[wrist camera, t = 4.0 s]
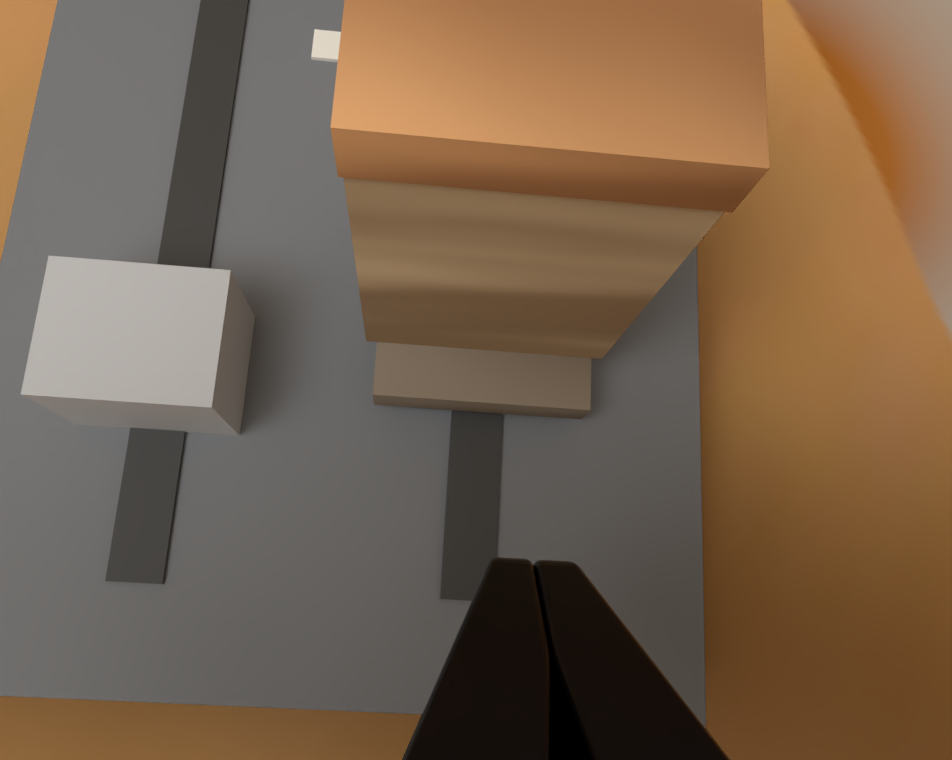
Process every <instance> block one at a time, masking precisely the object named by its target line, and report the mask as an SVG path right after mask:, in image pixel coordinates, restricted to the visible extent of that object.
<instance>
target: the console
mask: <svg viewBox="0 0 952 760" xmlns="http://www.w3.org/2000/svg"><path fill="white" fill-rule="evenodd" d="M343 9H344V0H58V2H57V6H56V11H55V15H54V20H53V25H52V29H51V34H50V38H49V43H48V48H47V52H46V57H45V61H44V66H43V71H42V75H41V80H40V84H39V89H38V93H37V98H36V103H35V107H34V112H33V116H32V121H31V126H30V130H29V135H28V139H27V144H26V149H25V153H24V158H23V162H22V167H21V171H20V176H19V181H18V185H17V190H16V194H15V199H14V204H13V208H12V213H11V217H10V222H9V227H8V231H7V236H6V240H5V245H4V250H3V254H2V259H1V263H0V696H16V697H39V698H62V699H85V700H107V701H130V702H153V703H175V704H198V705H221V706H243V707H266V708H289V709H311V710H334V711H357V712H379V713H402V714H422V713H423V711H424V709H425V707H426V704H427V702H428V700H429V697H430V695H431V693H432V691H433V688H434V686H435V684H436V681H437V679H438V677H439V675H440V672H441V670H442V668H443V665H444V663H445V661H446V659H447V656H448V654H449V652H450V650H451V647H452V645H453V643H454V640H455V638H456V636H457V634H458V631H459V629H460V627H461V624H462V622H463V620H464V618H465V615H466V613H467V611H468V608H469V606H470V604H471V602H472V599H473V597H474V595H475V592H476V590H477V588H478V586H479V583H480V581H481V579H482V577H483V574H484V572H485V570H486V567H487V565H488V563H489V561H490V560H491V559H493V558H495V557H502V558H520V559H528V560H529V561H531V562H532V564H533V565H534V563H535V562H536V561H538V560H554V561H570V562H574V563H575V564H577V565H578V566H579V567H580V568H581V569H582V570H583V572H584V573H585V574H586V576H587V577H588V578H589V579H590V581H591V582H592V583H593V585H594V586H595V587H596V588H597V590H598V591H599V592H600V594H601V595H602V596H603V597H604V599H605V600H606V601H607V603H608V604H609V605H610V606H611V608H612V609H613V610H614V612H615V613H616V614H617V615H618V617H619V618H620V619H621V621H622V622H623V623H624V624H625V626H626V627H627V628H628V629H629V631H630V632H631V633H632V635H633V636H634V637H635V638H636V640H637V641H638V642H639V644H640V645H641V646H642V647H643V649H644V650H645V651H646V653H647V654H648V655H649V656H650V658H651V659H652V660H653V662H654V663H655V664H656V665H657V667H658V668H659V669H660V671H661V672H662V673H663V674H664V676H665V677H666V678H667V680H668V681H669V682H670V683H671V685H672V686H673V687H674V689H675V690H676V691H677V692H678V694H679V695H680V696H681V698H682V699H683V700H684V701H685V703H686V704H687V705H688V706H689V708H690V709H691V710H692V712H693V713H694V714H695V715H696V717H697V718H698V719H699V721H700V722H701V723H702V724H703V726H704V727H706V693H705V641H704V590H703V538H702V487H701V435H700V383H699V332H698V280H697V245H696V247H695V248H694V249H693V250H692V251H691V253H690V254H689V255H688V256H687V257H686V259H685V260H684V261H683V262H682V263H681V265H680V266H679V267H678V268H677V269H676V271H675V272H674V273H673V274H672V275H671V277H670V278H669V279H668V280H667V281H666V283H665V284H664V285H663V286H662V287H661V289H660V290H659V291H658V292H657V293H656V295H655V296H654V297H653V298H652V299H651V301H650V302H649V303H648V304H647V305H646V307H645V308H644V309H643V310H642V311H641V313H640V314H639V315H638V316H637V317H636V319H635V320H634V321H633V322H632V323H631V325H630V326H629V327H628V328H627V329H626V331H625V332H624V333H623V334H622V335H621V337H620V338H619V339H618V340H617V341H616V343H615V344H614V345H613V346H612V347H611V349H610V350H609V351H608V352H607V353H606V355H605V356H604V357H603V358H602V359H596V358H591V410H590V411H589V412H588V413H587V414H586V415H585V416H584V417H583V418H582V419H570V418H556V417H542V416H527V415H513V414H499V413H485V412H470V411H456V410H442V409H428V408H413V407H399V406H385V405H374V402H373V395H372V394H373V382H374V371H375V360H376V348H377V342H371V341H366V337H365V330H364V322H363V315H362V308H361V301H360V293H359V286H358V279H357V272H356V265H355V257H354V250H353V243H352V236H351V229H350V221H349V214H348V207H347V200H346V192H345V185H344V178H342V177H338V174H337V168H336V161H335V155H334V148H333V141H332V135H331V128H330V127H331V118H332V109H333V100H334V91H335V82H336V73H337V64H338V55H339V45H340V36H341V27H342V18H343Z"/></svg>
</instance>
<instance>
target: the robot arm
mask: <svg viewBox="0 0 952 760" xmlns="http://www.w3.org/2000/svg"><path fill="white" fill-rule="evenodd" d="M402 760H730V759H729V758H728V757H727V755H726V754H725V753H724V751H723V750H722V749H721V748H720V746H719V745H718V744H717V742H716V741H715V740H714V739H713V737H712V736H711V735H710V733H709V732H708V731H707V730H706V728H705V727H704V726H703V724H702V723H701V722H700V721H699V719H698V718H697V717H696V715H695V714H694V713H693V712H692V710H691V709H690V708H689V706H688V705H687V704H686V703H685V701H684V700H683V699H682V698H681V696H680V695H679V694H678V692H677V691H676V690H675V689H674V687H673V686H672V685H671V683H670V682H669V681H668V680H667V678H666V677H665V676H664V674H663V673H662V672H661V671H660V669H659V668H658V667H657V665H656V664H655V663H654V662H653V660H652V659H651V658H650V656H649V655H648V654H647V653H646V651H645V650H644V649H643V647H642V646H641V645H640V644H639V642H638V641H637V640H636V638H635V637H634V636H633V635H632V633H631V632H630V631H629V629H628V628H627V627H626V626H625V624H624V623H623V622H622V621H621V619H620V618H619V617H618V615H617V614H616V613H615V612H614V610H613V609H612V608H611V606H610V605H609V604H608V603H607V601H606V600H605V599H604V597H603V596H602V595H601V594H600V592H599V591H598V590H597V588H596V587H595V586H594V585H593V583H592V582H591V581H590V579H589V578H588V577H587V576H586V574H585V573H584V572H583V570H582V569H581V568H580V567H579V566H578V565H577V564H575V563H574V562H570V561H554V560H538V561H536V562H535V563H534V565H533V564H532V562H531V561H529V560H528V559H520V558H502V557H495V558H493V559H491V560H490V561H489V563H488V565H487V567H486V570H485V572H484V574H483V577H482V579H481V581H480V583H479V586H478V588H477V590H476V592H475V595H474V597H473V599H472V602H471V604H470V606H469V608H468V611H467V613H466V615H465V618H464V620H463V622H462V624H461V627H460V629H459V631H458V634H457V636H456V638H455V640H454V643H453V645H452V647H451V650H450V652H449V654H448V656H447V659H446V661H445V663H444V665H443V668H442V670H441V672H440V675H439V677H438V679H437V681H436V684H435V686H434V688H433V691H432V693H431V695H430V697H429V700H428V702H427V704H426V707H425V709H424V711H423V713H422V716H421V718H420V720H419V722H418V725H417V727H416V729H415V732H414V734H413V736H412V738H411V741H410V743H409V745H408V748H407V750H406V752H405V754H404V757H403V759H402Z"/></svg>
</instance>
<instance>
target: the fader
mask: <svg viewBox="0 0 952 760" xmlns="http://www.w3.org/2000/svg"><path fill="white" fill-rule="evenodd" d="M330 128H331V135H332V141H333V148H334V155H335V161H336V168H337V174H338V177H342V178H344V185H345V192H346V200H347V207H348V214H349V221H350V229H351V236H352V243H353V250H354V257H355V265H356V272H357V279H358V286H359V293H360V301H361V308H362V315H363V322H364V330H365V337H366V341H371V342H377V348H376V360H375V371H374V382H373V394H372V395H373V402H374V405H385V406H399V407H413V408H428V409H442V410H456V411H470V412H485V413H499V414H513V415H527V416H542V417H556V418H570V419H582V418H583V417H584V416H585V415H586V414H587V413H588V412H589V411H590V410H591V358H596V359H602V358H603V357H604V356H605V355H606V353H607V352H608V351H609V350H610V349H611V347H612V346H613V345H614V344H615V343H616V341H617V340H618V339H619V338H620V337H621V335H622V334H623V333H624V332H625V331H626V329H627V328H628V327H629V326H630V325H631V323H632V322H633V321H634V320H635V319H636V317H637V316H638V315H639V314H640V313H641V311H642V310H643V309H644V308H645V307H646V305H647V304H648V303H649V302H650V301H651V299H652V298H653V297H654V296H655V295H656V293H657V292H658V291H659V290H660V289H661V287H662V286H663V285H664V284H665V283H666V281H667V280H668V279H669V278H670V277H671V275H672V274H673V273H674V272H675V271H676V269H677V268H678V267H679V266H680V265H681V263H682V262H683V261H684V260H685V259H686V257H687V256H688V255H689V254H690V253H691V251H692V250H693V249H694V248H695V247H696V245H697V244H698V243H699V242H700V241H701V239H702V238H703V237H704V236H705V235H706V233H707V232H708V231H709V230H710V229H711V227H712V226H713V225H714V224H715V223H716V221H717V220H718V219H719V218H720V217H721V215H722V214H723V213H724V212H733V211H734V210H735V208H736V207H737V206H738V205H739V204H740V202H741V201H742V200H743V199H744V198H745V197H746V195H747V194H748V193H749V192H750V191H751V190H752V188H753V187H754V186H755V185H756V184H757V183H758V181H759V180H760V179H761V178H762V177H763V176H764V174H765V173H766V172H767V171H768V170H769V147H768V125H767V103H766V81H765V59H764V37H763V15H762V0H344V9H343V18H342V27H341V36H340V45H339V55H338V64H337V73H336V82H335V91H334V100H333V109H332V118H331V127H330Z"/></svg>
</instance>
